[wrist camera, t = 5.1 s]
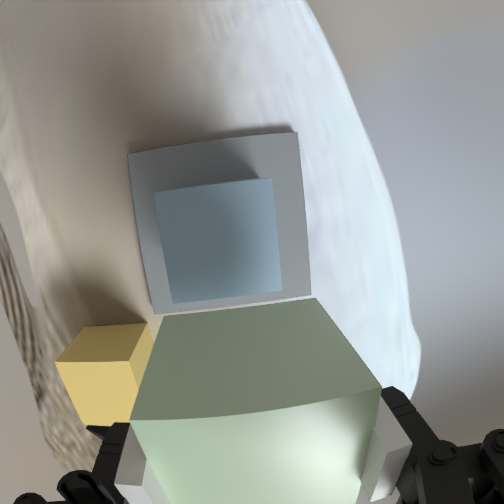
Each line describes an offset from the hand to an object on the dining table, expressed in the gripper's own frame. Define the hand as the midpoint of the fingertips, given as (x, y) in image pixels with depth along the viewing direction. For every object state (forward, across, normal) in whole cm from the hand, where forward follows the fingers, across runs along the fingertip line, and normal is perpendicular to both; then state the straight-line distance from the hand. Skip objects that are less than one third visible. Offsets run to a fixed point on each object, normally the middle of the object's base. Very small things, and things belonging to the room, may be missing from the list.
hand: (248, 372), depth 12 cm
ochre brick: (+12, -10, -6) cm, 17 cm away
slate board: (+12, 0, +4) cm, 13 cm away
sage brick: (0, 0, 0) cm, 1 cm away
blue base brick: (+11, 0, +4) cm, 12 cm away
